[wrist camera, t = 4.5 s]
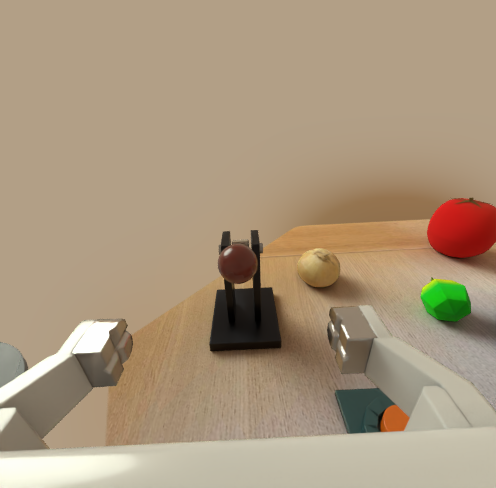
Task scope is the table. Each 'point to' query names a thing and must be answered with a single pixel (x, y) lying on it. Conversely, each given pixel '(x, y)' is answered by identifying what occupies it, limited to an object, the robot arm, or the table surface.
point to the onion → (318, 268)
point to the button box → (362, 409)
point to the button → (393, 420)
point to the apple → (446, 300)
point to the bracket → (245, 311)
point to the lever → (237, 262)
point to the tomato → (463, 228)
